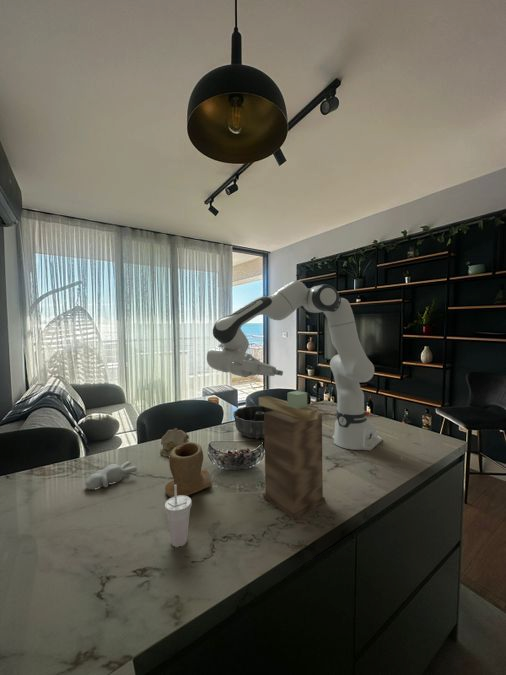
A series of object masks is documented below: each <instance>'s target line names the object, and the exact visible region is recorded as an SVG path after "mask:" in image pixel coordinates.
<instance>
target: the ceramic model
mask: <svg viewBox="0 0 506 675" xmlns="http://www.w3.org/2000/svg"><path fill="white" fill-rule="evenodd" d="M189 439H190V435H189V434H188V433H186V432H185V431H183V430H182V429H178V428H177V427H174V428H173V429H168V430H167V431H166V433H165V434H164V435H163V436H162V437H161V440H160V445H162V448H161V449H160V451H159V454H160V456H162V455H163V456H162V457H165V456H170V453H171V451H172V450H173V449H174V448H175V447H177V446H179V445H181V444H183V443H188V442H190V440H189Z"/></svg>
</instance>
